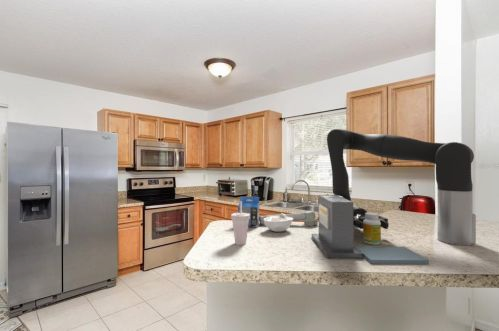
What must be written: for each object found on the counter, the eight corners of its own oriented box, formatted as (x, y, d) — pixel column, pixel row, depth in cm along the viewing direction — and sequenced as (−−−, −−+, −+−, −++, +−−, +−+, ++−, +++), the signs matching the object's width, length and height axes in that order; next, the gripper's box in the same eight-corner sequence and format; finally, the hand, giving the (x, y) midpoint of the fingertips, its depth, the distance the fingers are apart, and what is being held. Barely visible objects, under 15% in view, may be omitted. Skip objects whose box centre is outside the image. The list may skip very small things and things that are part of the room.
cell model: (259, 229, 104) (259, 212, 104) (284, 226, 109) (284, 210, 109) (270, 235, 95) (270, 217, 95) (298, 232, 99) (298, 214, 99)
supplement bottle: (373, 245, 82) (373, 215, 82) (359, 241, 87) (359, 212, 87) (384, 243, 85) (384, 214, 85) (370, 239, 90) (370, 211, 90)
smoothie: (253, 241, 88) (252, 200, 88) (245, 247, 82) (244, 203, 82) (236, 239, 90) (236, 199, 90) (227, 244, 85) (227, 202, 85)
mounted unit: (339, 237, 91) (339, 194, 91) (363, 258, 71) (363, 203, 71) (311, 237, 92) (311, 194, 91) (327, 258, 72) (326, 203, 71)
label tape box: (237, 226, 109) (237, 197, 109) (239, 224, 113) (239, 196, 113) (257, 227, 107) (257, 198, 107) (259, 225, 111) (259, 196, 111)
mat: (404, 249, 78) (404, 246, 78) (428, 263, 67) (428, 260, 67) (354, 249, 79) (354, 246, 79) (370, 263, 68) (370, 259, 68)
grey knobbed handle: (259, 214, 115) (315, 207, 114) (261, 229, 115) (317, 222, 114) (258, 217, 110) (317, 209, 108) (261, 232, 110) (319, 225, 108)
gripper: (336, 206, 101) (352, 214, 84) (373, 206, 100) (396, 214, 84) (336, 225, 101) (352, 237, 84) (373, 225, 100) (396, 237, 84)
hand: (374, 225), depth 84 cm, fingers open, 7 cm apart
